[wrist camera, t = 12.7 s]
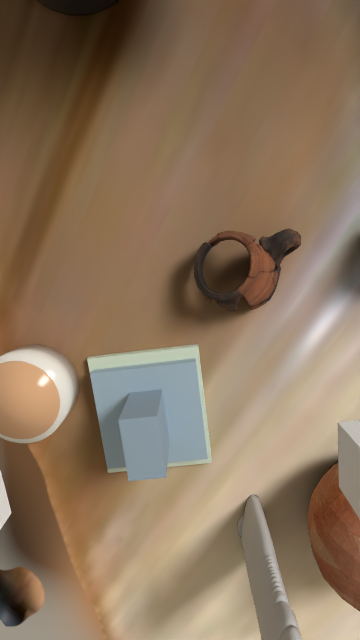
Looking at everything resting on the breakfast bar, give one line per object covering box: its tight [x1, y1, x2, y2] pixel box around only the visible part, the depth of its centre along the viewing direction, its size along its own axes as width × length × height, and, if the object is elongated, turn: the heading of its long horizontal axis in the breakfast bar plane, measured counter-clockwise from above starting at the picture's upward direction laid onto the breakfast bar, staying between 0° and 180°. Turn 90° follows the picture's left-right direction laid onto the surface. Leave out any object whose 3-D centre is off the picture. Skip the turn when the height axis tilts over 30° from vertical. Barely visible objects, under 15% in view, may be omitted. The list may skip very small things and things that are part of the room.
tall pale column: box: [237, 495, 302, 640], centre depth 35 cm, size 11×4×22 cm, turn 179°
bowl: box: [0, 344, 79, 443], centre depth 40 cm, size 11×11×5 cm
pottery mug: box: [194, 229, 301, 311], centre depth 37 cm, size 12×9×8 cm
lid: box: [90, 358, 208, 481], centre depth 38 cm, size 13×13×8 cm
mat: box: [87, 344, 212, 473], centre depth 43 cm, size 16×14×1 cm
